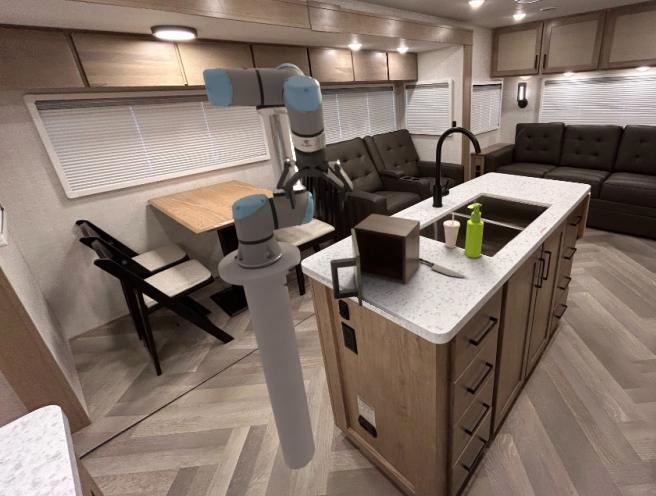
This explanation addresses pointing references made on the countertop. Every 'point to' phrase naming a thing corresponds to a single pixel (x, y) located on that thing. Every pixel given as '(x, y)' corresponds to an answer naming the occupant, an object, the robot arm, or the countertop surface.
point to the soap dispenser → (474, 232)
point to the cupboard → (388, 247)
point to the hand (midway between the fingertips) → (318, 206)
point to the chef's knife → (442, 269)
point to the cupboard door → (356, 263)
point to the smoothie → (451, 232)
